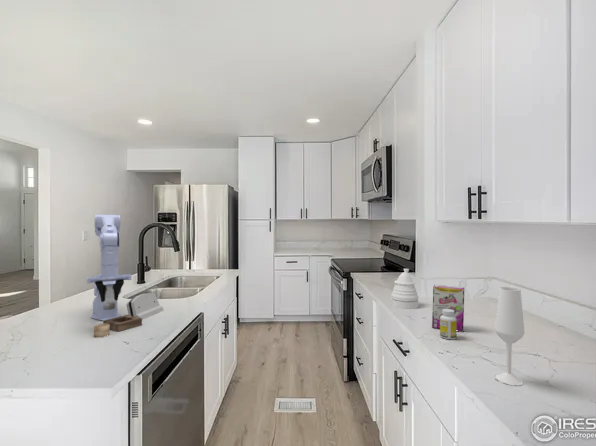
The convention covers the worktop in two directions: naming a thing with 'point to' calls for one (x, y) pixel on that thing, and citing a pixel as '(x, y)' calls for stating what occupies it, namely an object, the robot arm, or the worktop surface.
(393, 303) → the honey pot
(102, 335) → the oak stub
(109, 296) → the tall pin
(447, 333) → the supplement bottle
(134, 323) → the socket block
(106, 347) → the worktop surface
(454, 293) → the candy bar box
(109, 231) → the robot arm
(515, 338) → the champagne flute
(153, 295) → the hinge
